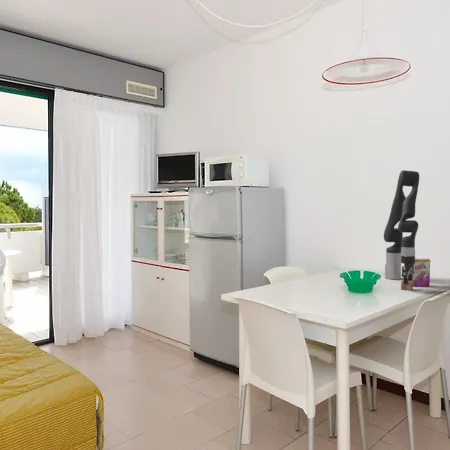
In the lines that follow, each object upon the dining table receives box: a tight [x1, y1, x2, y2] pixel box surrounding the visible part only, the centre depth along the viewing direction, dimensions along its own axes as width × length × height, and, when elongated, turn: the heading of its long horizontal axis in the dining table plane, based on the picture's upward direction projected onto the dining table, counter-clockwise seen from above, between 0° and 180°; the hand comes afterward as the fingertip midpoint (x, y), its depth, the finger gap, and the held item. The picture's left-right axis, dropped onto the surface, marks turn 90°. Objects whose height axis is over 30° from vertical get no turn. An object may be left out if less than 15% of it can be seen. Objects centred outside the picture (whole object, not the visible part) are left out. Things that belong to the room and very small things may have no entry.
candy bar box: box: [412, 257, 431, 287], centre depth 252 cm, size 11×5×16 cm, turn 84°
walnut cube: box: [400, 280, 414, 292], centre depth 242 cm, size 5×5×5 cm
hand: (407, 283), depth 241 cm, fingers open, 8 cm apart
